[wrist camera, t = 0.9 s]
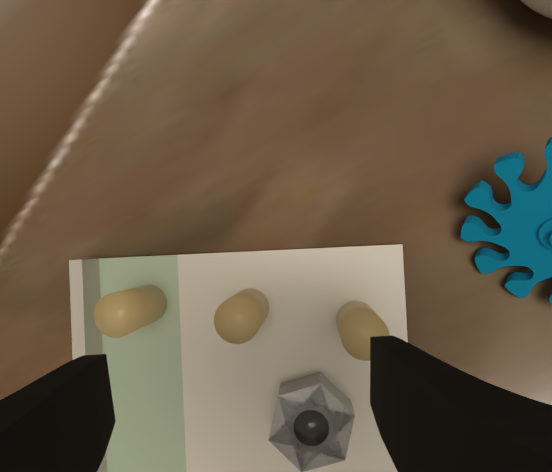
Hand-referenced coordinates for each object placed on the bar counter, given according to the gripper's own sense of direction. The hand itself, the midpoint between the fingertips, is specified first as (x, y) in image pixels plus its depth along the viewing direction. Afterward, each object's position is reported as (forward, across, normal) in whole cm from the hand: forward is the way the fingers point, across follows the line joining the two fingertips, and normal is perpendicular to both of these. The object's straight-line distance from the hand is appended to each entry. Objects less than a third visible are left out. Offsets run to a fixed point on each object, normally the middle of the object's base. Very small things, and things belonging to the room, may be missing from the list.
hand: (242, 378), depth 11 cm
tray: (+14, 0, +9) cm, 17 cm away
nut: (+12, -3, +10) cm, 16 cm away
